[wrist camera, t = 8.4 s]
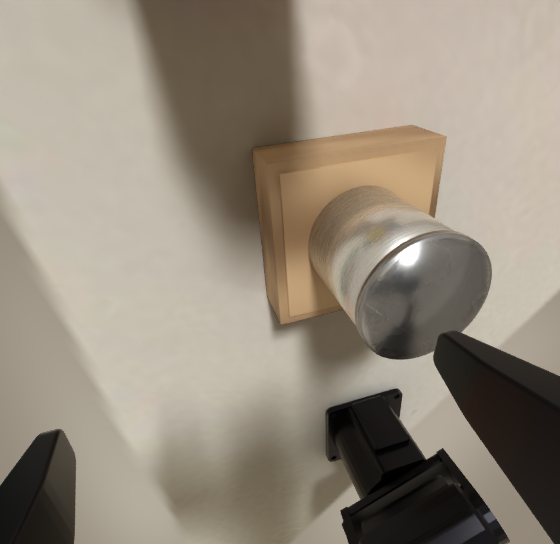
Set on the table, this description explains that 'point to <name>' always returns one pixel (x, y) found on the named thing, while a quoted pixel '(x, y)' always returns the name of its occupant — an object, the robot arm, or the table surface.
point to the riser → (324, 188)
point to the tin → (397, 270)
